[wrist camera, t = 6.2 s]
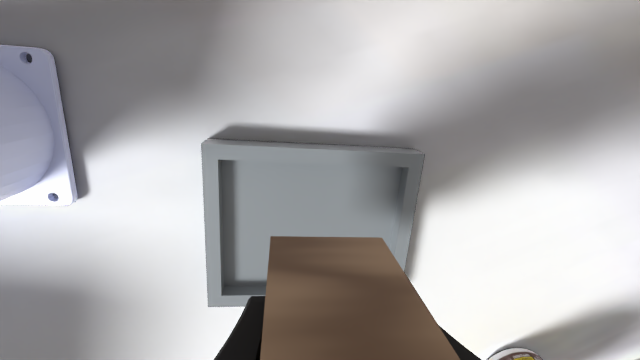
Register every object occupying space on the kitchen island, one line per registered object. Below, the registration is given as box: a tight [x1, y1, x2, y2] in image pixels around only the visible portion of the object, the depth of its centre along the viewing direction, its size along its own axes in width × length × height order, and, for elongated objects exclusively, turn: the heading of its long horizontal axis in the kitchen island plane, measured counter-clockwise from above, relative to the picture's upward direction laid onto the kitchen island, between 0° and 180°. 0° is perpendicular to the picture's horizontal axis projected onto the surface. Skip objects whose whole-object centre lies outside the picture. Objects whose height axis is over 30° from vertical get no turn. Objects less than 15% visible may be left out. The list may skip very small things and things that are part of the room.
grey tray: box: [201, 138, 425, 307], centre depth 19 cm, size 12×10×2 cm
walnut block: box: [260, 236, 460, 360], centre depth 10 cm, size 4×4×6 cm
